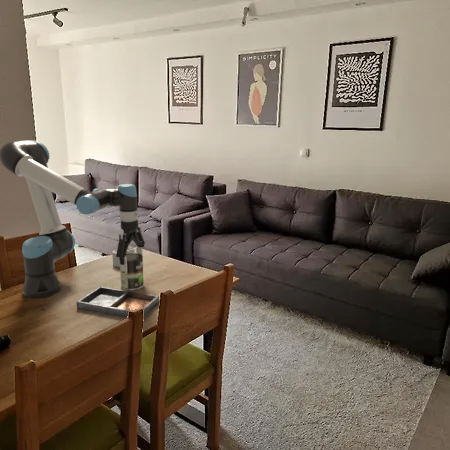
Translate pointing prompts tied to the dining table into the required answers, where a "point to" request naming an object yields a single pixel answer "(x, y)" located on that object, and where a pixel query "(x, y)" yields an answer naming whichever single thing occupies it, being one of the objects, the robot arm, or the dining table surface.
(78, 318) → the dining table surface
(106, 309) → the grey divided tray
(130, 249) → the lumpy-topped squat cylinder
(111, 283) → the dining table surface
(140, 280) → the coffee can
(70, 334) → the dining table surface
